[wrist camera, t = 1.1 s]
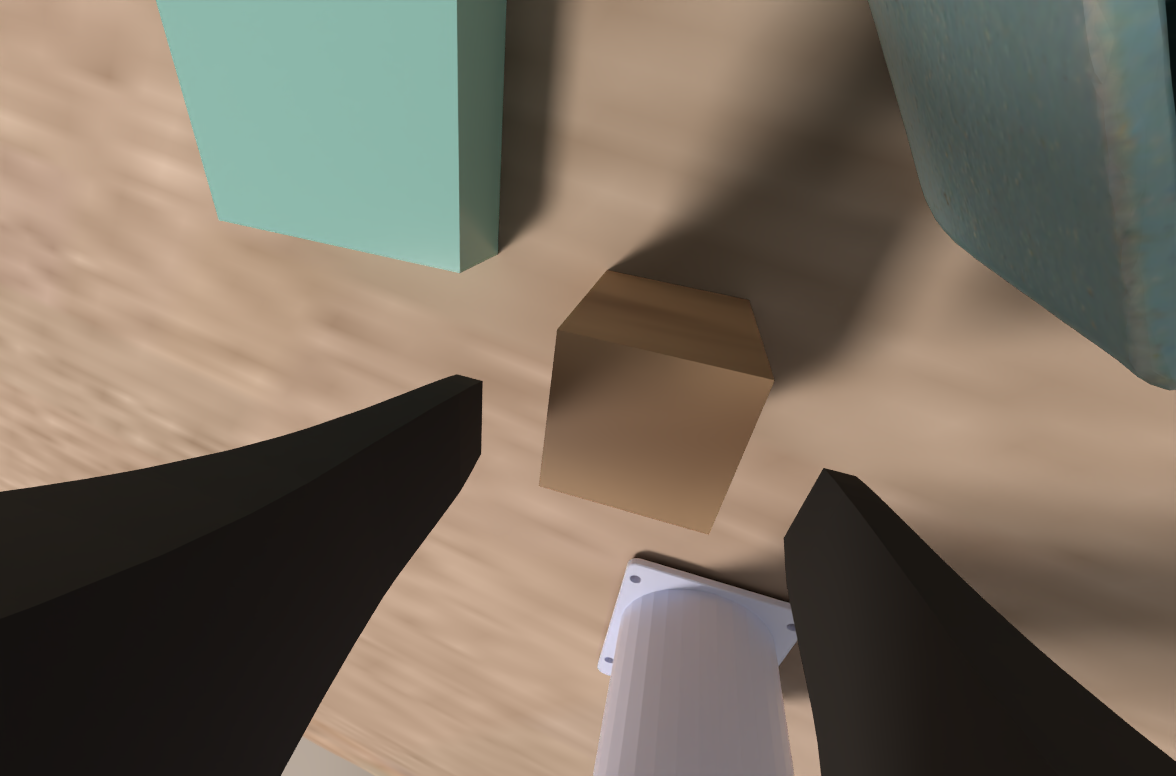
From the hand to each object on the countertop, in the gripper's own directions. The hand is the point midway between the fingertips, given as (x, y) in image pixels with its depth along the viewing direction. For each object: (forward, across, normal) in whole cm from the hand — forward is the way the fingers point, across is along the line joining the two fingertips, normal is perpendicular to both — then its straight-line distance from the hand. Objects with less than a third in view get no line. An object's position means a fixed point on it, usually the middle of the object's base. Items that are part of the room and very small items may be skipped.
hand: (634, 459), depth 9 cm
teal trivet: (+7, +10, -6) cm, 13 cm away
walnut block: (+6, 0, 0) cm, 6 cm away
